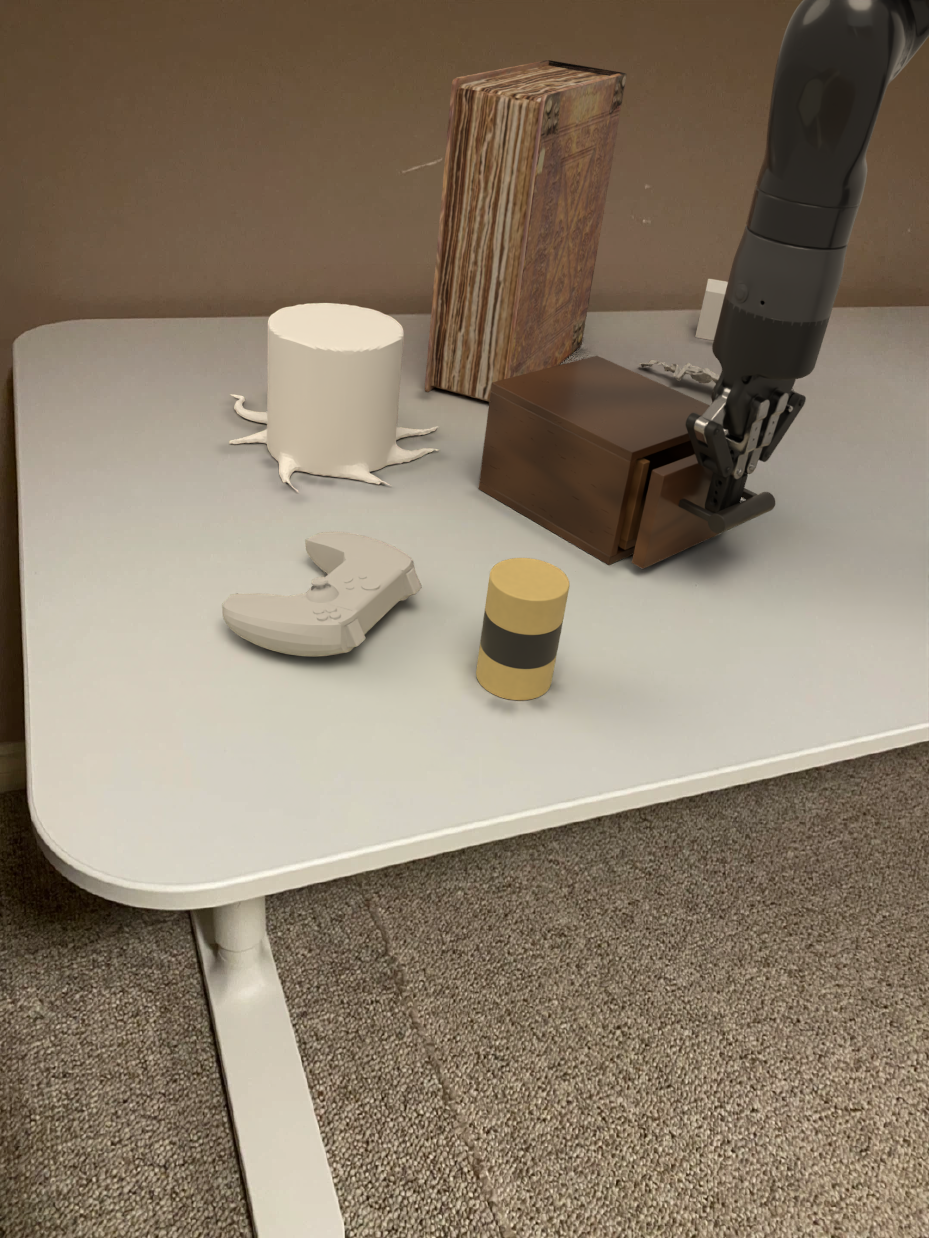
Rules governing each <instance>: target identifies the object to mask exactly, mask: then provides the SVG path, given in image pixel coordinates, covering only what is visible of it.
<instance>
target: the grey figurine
mask: <svg viewBox="0 0 929 1238" xmlns="http://www.w3.org/2000/svg"><path fill="white" fill-rule="evenodd" d="M655 364H657V365H658V366H659V365H662V366H663V368H664V372H670V373H672V377H673V378H675V380H677V381H679V382H680V381H681V380H682V379H683V378H684V377H685V375H689V376H690V378H691V379H692V380H694V381H695V382H698V383H699V384H709V383H712V382H714V383H715V384H716V383H717V381H718V379H719V377H720V374H718V373H715V372H713V370H711V369H709V368H708V367H705V368H703V367H702V368H701V367H700V366H697V365H692V363H691V362H686V363H685V365H683V368H680V365H678V364H677V363H671V365H669V364H668V363H666V362H664V361H660V360H657V359H650V360H649V361H648V363H647V362H640V363H638V366H640V367H641V368H645V367H649V368H653V365H655Z"/></svg>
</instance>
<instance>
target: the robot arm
mask: <svg viewBox="0 0 929 1238" xmlns="http://www.w3.org/2000/svg"><path fill="white" fill-rule="evenodd" d="M928 38H929V0H802V1H801V2H800V3H799V4H798V6H797V7H796V9H795V10H794V12H793V13H792V15H791V17H790V19H789V21H788V24H787V26H786V29H785V31H784V34H783V37H782V41H781V44H780V48H779V51H778V56H777V60H776V64H775V69H774V71H775V72H774V76H773V81H772V89H771V96H770V103H769V111H768V119H767V121H768V122H767V130H766V140H765V142H766V143H765V151H764V156H763V159H762V164H761V166H760V169H759V172H758V175H757V179H756V183H755V187H754V190H753V194H752V198H751V203H750V206H749V210H748V214H747V218H746V222H745V226H744V230H743V234H742V236H741V239H740V241H739V243H738V247H737V249H736V250H735V251H736V252H735V254H734V257H733V261H732V264H731V268H730V273H729V276H728V280H727V282H728V284H727V288H726V292H725V296H724V300H723V304H722V308H721V313H720V317H719V321H718V325H717V329H716V333H715V337H714V341H713V340H712V341H713V342H712V346H711V349H712V350H711V351H712V354H713V356H714V357H715V359H717V361H718V362H719V364H720V367H721V372H720V374H719V375H720V377H719V379H718V381H717V383H715V385H714V386H713V389H712V392H711V401H712V403H711V404H709V405H710V406H709V408H708V409H707V410H706V411H705V412H704V413H703V415H702V416H701V415H699V414H697V413H695V412H693V413H691V414H690V415H689V416H688V418H687V420H686V428H687V431H688V434H689V437H690V440H691V443H692V446H693V449H694V452H695V455H696V458H697V461H698V464H699V465H701V466H703V467H705V468H707V469H709V470H711V471H713V475H712V479H711V482H710V486H709V490H708V494H707V498H706V501H705V509H706V510H708V511H710V512H712V513H716V512H719V511H721V510H723V509H726V508H728V507H730V506H732V505H735V504H737V503H739V502H742V494H743V490H744V488H745V486H746V484H747V480H748V476H749V475H751V474H753V473H754V472H755V470H756V469H757V466H758V464H759V461H761V462H763V463H766V462H768V460H769V459H770V458H771V456H772V455H773V453H774V451H775V450H776V448H777V447H778V446H779V444H780V443H781V441H782V440H783V438H784V437H785V435H786V434H787V431H789V429H790V427H791V426H792V424H793V423H794V421H795V419H796V418H797V416H798V415H799V413H800V412H801V410H802V409H803V407H804V406H805V403H806V401H807V397H806V396H805V395H804V394H802V393H799V392H797V391H796V390H795V389H794V385H795V383H796V380H798V379H799V380H800V379H803V378H806V377H807V376H809V375H811V373H812V372H813V371H814V370H815V367H816V364H817V360H818V358H819V355H820V351H821V348H822V344H823V342H824V338H825V335H826V332H827V328H828V325H829V322H830V318H831V314H832V311H833V308H834V305H835V302H836V299H837V295H838V292H839V289H840V285H841V282H842V279H843V273H844V269H845V268H844V266H845V260H846V255H847V251H848V245H849V242H850V239H851V235H852V232H853V229H854V225H855V222H856V218H857V216H858V213H859V209H860V205H861V204H862V200H863V197H864V196H863V195H864V191H865V187H866V183H867V176H868V162H867V153H868V150H869V146H870V143H871V140H872V136H873V133H874V130H875V127H876V123H877V120H878V116H879V113H880V111H881V107H882V103H883V100H884V99H885V94H886V92H887V88H888V86H889V84H890V83H891V82H892V81H893V80H894V79H895V78H896V77H897V76H898V75H899V74H900V73H901V72H902V70H903V69H904V68H905V67H906V66H907V65H908V63H910V61H911V60H912V59H913V57H914V56H915V55H916V53H917V52H918V51H919V50H920V49H921V47H922V46H923V45H924V44H925V42H926V41H927V39H928Z"/></svg>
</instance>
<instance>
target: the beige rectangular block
mask: <svg viewBox="0 0 929 1238" xmlns="http://www.w3.org/2000/svg"><path fill="white" fill-rule="evenodd" d="M727 284H728V281H725V280H720V279H713V278H707V282H706V287H705V291H704V296H703V300H702V304H701V309H700V314H699V317H698V322H697V326H696V331H695V338H697V339H703V340H708V341H714V337H715V333H716V329H717V325H718V321H719V317H720V313H721V308H722V304H723V300H724V296H725V292H726V288H727Z"/></svg>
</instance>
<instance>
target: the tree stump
mask: <svg viewBox="0 0 929 1238" xmlns="http://www.w3.org/2000/svg"><path fill="white" fill-rule="evenodd" d="M404 338H405V330H404V328H403V326H402V324H401V323H400V322H399V321H397V319H396V318H393V317H392V316H391V315H388V314H385V313H383V312H381V311H379V310H376V309H373V308H369V307H361V306H358V305H353V304H352V305H351V304H348V303H347V304H346V303H342V304H341V303H334V302H313V303H304V304H296V305H293V306H285V307H282V308H279V309H277V310H276V311H275V312H273V313H272V314H270V316H269V317H268V321H267V369H266V370H267V372H266V373H267V379H266V381H267V383H266V385H267V387H266V388H267V390H266V392H267V394H266V395H267V397H266V399H267V400H266V402H267V403H266V404H267V405H266V406H267V407H266V410H267V411H255V410H250V409H246V408H245V407H244V406H243V404H244V402H246V397H244V395H239V394H234V393H233V394H229V396H232V397H233V398H236V399H238V400H236V401H235V403H234V405H233V409H234V411H235V412H236V413H237V415H238V416H240V417H242V418H244V419H246V420H248V421H253V422H254V423H261V424H266V428H265V429H264V430H262V431H259V432H256V433H253V434H250V435H247V436H243V437H240V438H235V439H231V440H228V443H229V445H239V444H244V443H246V444H250V443H251V444H252V443H253V444H254V443H255V444H256V443H259V444H261V443H262V444H266V446H267V450H268V452H269V454H270V455H271V457H272V458H274V459H275V460H276V461H277V462H278V474H279V477H280V478H281V481H282V483H283V484H286V483H287V484H288V485H289V486H291V487H292V488H293V489H294V490H295V491H296V492H297V493H299V490H298V489H296V487H294V486H293V484H292V483H291V480H290V479H291V476H292V474H293V473H294V472H304V473H307V474H310V475H319V476H323V477H326V476H328V477H333V478H334V477H335V478H343V479H344V478H345V479H349V480H357V481H360V482H365V483H369V484H376V485H380V484H381V485H388V486H390V487H391V486H392V484H390V483H387V482H386V481H385V480H382V479H380V478H379V477H378V476H376V475H374V474H372V472H375V471H378V470H381V469H383V468H385V467H387V466H390V465H396V464H403V463H409V462H411V461H413V460H417V459H418V458H422V457H423V456H425V455H427V454H428V453H429V454H430V453H432V452H433V451H436V452H439V451H440V449H439V448H432V447H431V448H429V447H424V448H418V449H413V450H408V449H404V448H401V447H400V446H399V445H398V444H397V440H400V439H403V438H406V437H407V438H408V437H415V436H421V435H423V436H424V435H427V434H430V433H432V432H435V431H436V430H437V428H439V427H440V426H439V425H438V426H437V425H436V426H434V427H430V428H421V429H420V428H416V429H415V428H410V427H403V426H402V427H400V426H398V416H399V405H400V404H399V403H400V393H401V392H400V390H401V380H402V379H401V377H402V363H403V351H404Z"/></svg>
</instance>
